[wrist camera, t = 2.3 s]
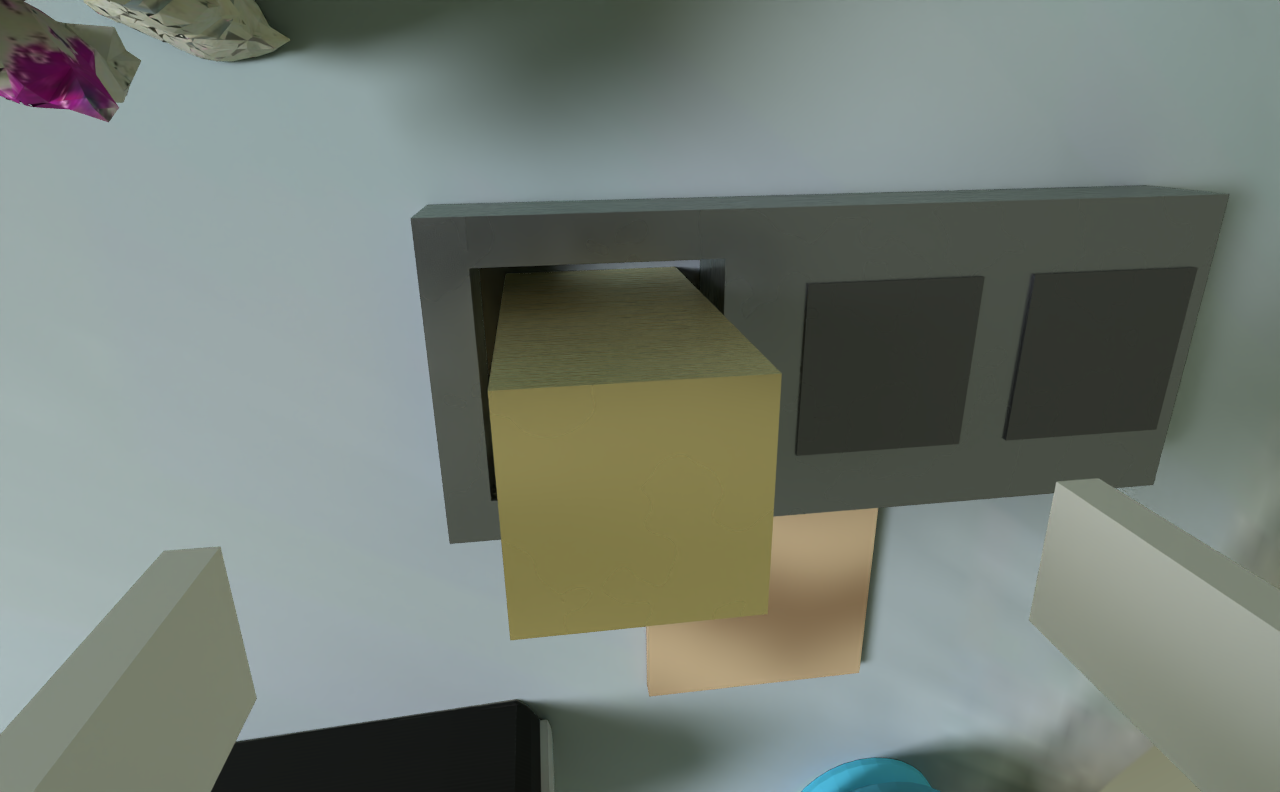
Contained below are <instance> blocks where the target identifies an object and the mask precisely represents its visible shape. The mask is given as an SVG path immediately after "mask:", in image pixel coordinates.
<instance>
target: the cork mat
mask: <svg viewBox="0 0 1280 792" xmlns="http://www.w3.org/2000/svg"><path fill="white" fill-rule="evenodd" d="M877 514H878V508H871V509H859V510H847V511H835V512H823V513H811V514H799V515H787V516H775V517H773V532H772V549H771V566H770V583H769V600H768V614H764V615H754V616H744V617H734V618H724V619H715V620H705V621H695V622H685V623H675V624H665V625H656V626H646V635H647V687H648V692H649V696H658V695H667V694H676V693H685V692H693V691H702V690H711V689H720V688H729V687H738V686H746V685H755V684H764V683H773V682H782V681H791V680H799V679H808V678H817V677H826V676H835V675H844V674H852V673H859V669H860V661H861V652H862V643H863V635H864V626H865V617H866V609H867V600H868V591H869V583H870V574H871V566H872V557H873V548H874V540H875V531H876V522H877Z"/></svg>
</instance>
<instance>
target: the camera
mask: <svg viewBox="0 0 1280 792" xmlns="http://www.w3.org/2000/svg"><path fill="white" fill-rule="evenodd" d="M211 792H555V787H554V760H553V736H552V730H551V726H550V724H549V722H548V720H540V719H539V718H538V717H537V716H536V715H535V713H534V712H533V711H532V710H531V709H530V708H529V707H528V706H527V705H526V704H524V703H522V702H521V701H519V700H517V699H514V700H507V701H501V702H494V703H488V704H481V705H474V706H468V707H461V708H455V709H448V710H441V711H435V712H428V713H422V714H415V715H409V716H402V717H395V718H389V719H382V720H376V721H369V722H362V723H356V724H349V725H343V726H336V727H329V728H323V729H316V730H310V731H303V732H296V733H290V734H284V735H277V736H271V737H265V738H259V739H252V740H246V741H240V742H235V744H234V746H233V748H232V750H231V752H230V754H229V756H228V758H227V760H226V762H225V764H224V766H223V768H222V770H221V772H220V774H219V776H218V778H217V780H216V782H215V784H214V786H213V788H212V790H211Z"/></svg>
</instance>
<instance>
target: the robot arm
mask: <svg viewBox="0 0 1280 792" xmlns="http://www.w3.org/2000/svg"><path fill="white" fill-rule="evenodd" d="M1029 621H1030V622H1031V623H1032V624H1033V625H1034V626H1035V627H1036V628H1037V629H1038V630H1039V631H1040V632H1041V633H1042V634H1043V635H1044V636H1045V637H1046V638H1047V639H1048V640H1049V641H1050V642H1051V643H1052V644H1053V645H1054V646H1055V647H1056V648H1057V649H1058V650H1059V651H1060V652H1061V653H1062V654H1063V655H1064V656H1065V657H1066V658H1067V659H1068V660H1069V661H1070V662H1071V663H1072V664H1073V665H1074V666H1075V667H1076V668H1077V669H1078V670H1080V671H1081V672H1082V673H1083V674H1084V675H1085V676H1086V677H1087V678H1088V679H1089V680H1090V681H1091V682H1092V683H1093V684H1094V685H1095V686H1096V687H1097V688H1098V689H1099V690H1100V691H1101V692H1102V693H1103V694H1104V695H1105V696H1106V697H1107V698H1108V699H1109V700H1110V701H1111V702H1112V703H1113V704H1114V705H1115V706H1116V707H1117V708H1118V709H1119V710H1120V711H1121V712H1122V713H1123V714H1124V715H1125V716H1126V717H1127V718H1128V719H1129V720H1130V721H1131V722H1132V723H1133V724H1134V725H1135V726H1136V727H1137V728H1138V729H1139V730H1140V731H1141V732H1142V733H1143V734H1144V735H1145V736H1146V737H1147V738H1148V739H1149V740H1150V741H1151V742H1152V743H1153V744H1154V745H1155V746H1156V747H1157V748H1158V749H1159V750H1160V751H1161V752H1162V753H1163V754H1164V755H1165V756H1166V757H1167V758H1168V759H1169V760H1170V761H1171V762H1172V763H1173V764H1174V765H1175V766H1176V767H1177V768H1178V769H1179V770H1180V771H1181V772H1182V773H1183V774H1184V775H1185V776H1186V777H1187V778H1188V779H1189V780H1191V782H1192V783H1193V784H1194V785H1195V786H1196V787H1198V789H1200V791H1202V792H1280V590H1279V589H1278V588H1276V587H1274V586H1273V585H1271V584H1269V583H1268V582H1266V581H1265V580H1263V579H1261V578H1260V577H1258V576H1256V575H1255V574H1253V573H1252V572H1250V571H1248V570H1247V569H1245V568H1243V567H1242V566H1240V565H1239V564H1237V563H1235V562H1234V561H1232V560H1230V559H1229V558H1227V557H1226V556H1224V555H1222V554H1221V553H1219V552H1217V551H1216V550H1214V549H1213V548H1211V547H1209V546H1208V545H1206V544H1204V543H1203V542H1201V541H1200V540H1198V539H1196V538H1195V537H1193V536H1192V535H1190V534H1188V533H1187V532H1185V531H1183V530H1182V529H1180V528H1179V527H1177V526H1175V525H1174V524H1172V523H1170V522H1169V521H1167V520H1166V519H1164V518H1162V517H1161V516H1159V515H1157V514H1156V513H1154V512H1153V511H1151V510H1149V509H1148V508H1146V507H1144V506H1143V505H1141V504H1140V503H1138V502H1136V501H1135V500H1133V499H1131V498H1130V497H1128V496H1127V495H1125V494H1123V493H1122V492H1120V491H1118V490H1117V489H1115V488H1114V487H1112V486H1110V485H1109V484H1107V483H1105V482H1104V481H1102V480H1101V479H1099V478H1096V479H1083V480H1070V481H1057V482H1056V486H1055V491H1054V496H1053V501H1052V506H1051V511H1050V516H1049V521H1048V526H1047V531H1046V536H1045V542H1044V547H1043V552H1042V557H1041V562H1040V567H1039V572H1038V577H1037V582H1036V587H1035V592H1034V597H1033V602H1032V607H1031V612H1030V617H1029ZM256 699H257V698H256V694H255V689H254V685H253V681H252V677H251V673H250V669H249V664H248V660H247V656H246V652H245V648H244V644H243V639H242V635H241V631H240V627H239V623H238V619H237V614H236V610H235V606H234V602H233V598H232V593H231V589H230V585H229V581H228V577H227V573H226V568H225V564H224V560H223V556H222V552H221V548H220V547H207V548H194V549H182V550H169V551H163V552H162V554H161V555H160V556H159V557H158V558H157V559H156V560H155V561H154V562H153V564H152V565H151V566H150V567H149V568H148V569H147V570H146V571H145V573H144V574H143V575H142V576H141V577H140V578H139V579H138V580H137V582H136V583H135V584H134V585H133V586H132V587H131V588H130V589H129V591H128V592H127V593H126V594H125V595H124V596H123V597H122V598H121V600H120V601H119V602H118V603H117V604H116V605H115V606H114V607H113V609H112V610H111V611H110V612H109V613H108V614H107V615H106V616H105V618H104V619H103V620H102V621H101V622H100V623H99V624H98V625H97V627H96V628H95V629H94V630H93V631H92V632H91V633H90V634H89V635H88V637H87V638H86V639H85V640H84V641H83V642H82V643H81V644H80V646H79V647H78V648H77V649H76V650H75V651H74V652H73V653H72V655H71V656H70V657H69V658H68V659H67V660H66V661H65V662H64V664H63V665H62V666H61V667H60V668H59V669H58V670H57V671H56V673H55V674H54V675H53V676H52V677H51V678H50V679H49V680H48V682H47V683H46V684H45V685H44V686H43V687H42V688H41V689H40V691H39V692H38V693H37V694H36V695H35V696H34V697H33V698H32V699H31V701H30V702H29V703H28V704H27V705H26V706H25V707H24V708H23V710H22V711H21V712H20V713H19V714H18V715H17V716H16V717H15V719H14V720H13V721H12V722H11V723H10V724H9V725H8V726H7V728H6V729H5V730H4V731H3V732H2V733H1V734H0V792H211V790H212V788H213V786H214V784H215V782H216V780H217V778H218V776H219V774H220V772H221V770H222V768H223V766H224V764H225V762H226V760H227V758H228V756H229V754H230V752H231V750H232V748H233V746H234V744H235V741H236V739H237V737H238V735H239V733H240V731H241V729H242V727H243V725H244V723H245V721H246V719H247V717H248V715H249V713H250V711H251V709H252V707H253V705H254V703H255V701H256Z"/></svg>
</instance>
